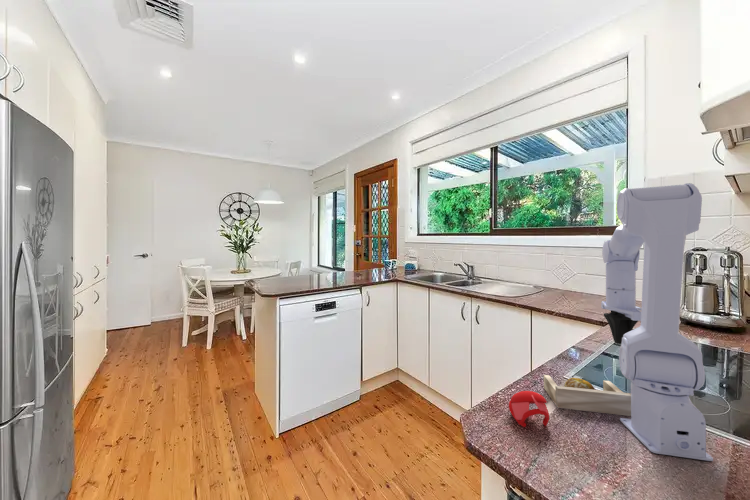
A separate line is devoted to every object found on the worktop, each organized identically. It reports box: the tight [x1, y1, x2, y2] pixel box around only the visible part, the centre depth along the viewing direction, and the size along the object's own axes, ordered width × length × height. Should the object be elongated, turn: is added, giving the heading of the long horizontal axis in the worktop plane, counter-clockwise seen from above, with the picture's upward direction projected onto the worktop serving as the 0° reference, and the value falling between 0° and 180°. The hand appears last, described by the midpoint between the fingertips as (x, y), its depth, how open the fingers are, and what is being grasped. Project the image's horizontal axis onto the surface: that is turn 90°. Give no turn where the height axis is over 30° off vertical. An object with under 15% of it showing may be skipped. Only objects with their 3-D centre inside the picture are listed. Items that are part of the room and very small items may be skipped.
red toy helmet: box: [508, 390, 550, 428], centre depth 56 cm, size 8×6×6 cm
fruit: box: [563, 377, 596, 390], centre depth 65 cm, size 8×8×4 cm
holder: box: [543, 374, 631, 417], centre depth 63 cm, size 9×13×4 cm
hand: (620, 343), depth 73 cm, fingers closed
